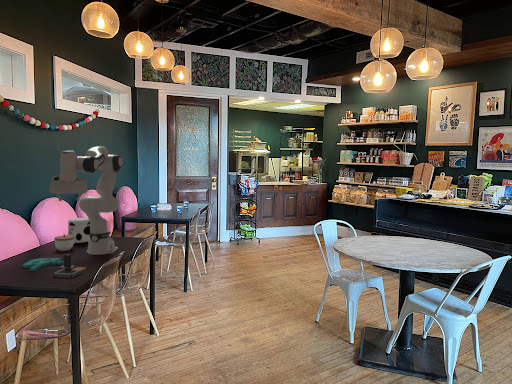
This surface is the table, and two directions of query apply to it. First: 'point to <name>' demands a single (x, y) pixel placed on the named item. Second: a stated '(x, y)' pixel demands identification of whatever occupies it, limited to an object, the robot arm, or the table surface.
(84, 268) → the tile
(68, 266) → the stepped dark grey block
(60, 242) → the lidded bowl
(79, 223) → the milk container
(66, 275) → the bay
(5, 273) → the table surface
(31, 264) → the teal pixel invader
